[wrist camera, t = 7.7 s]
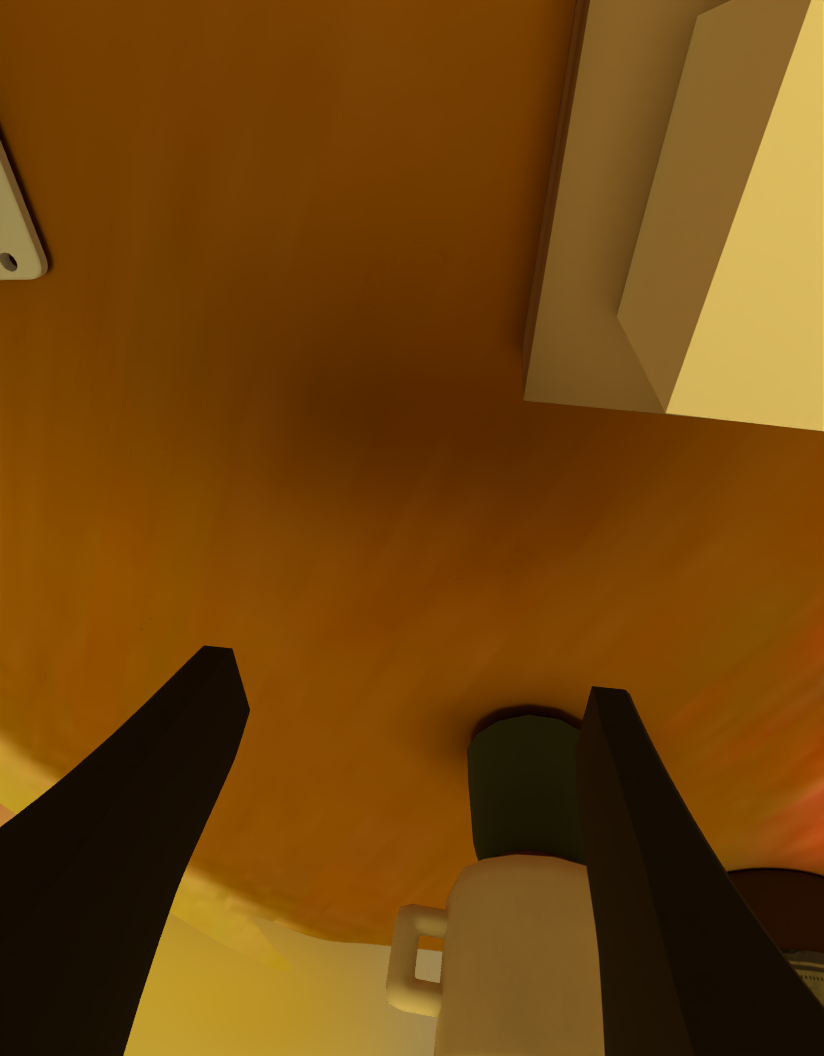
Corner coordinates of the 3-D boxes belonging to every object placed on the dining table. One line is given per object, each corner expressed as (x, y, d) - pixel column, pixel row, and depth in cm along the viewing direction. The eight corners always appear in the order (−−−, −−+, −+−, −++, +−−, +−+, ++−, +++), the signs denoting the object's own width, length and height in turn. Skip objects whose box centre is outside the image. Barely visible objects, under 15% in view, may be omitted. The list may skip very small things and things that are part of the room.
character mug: (419, 765, 31) (372, 1096, 21) (427, 681, 27) (373, 1047, 16) (624, 798, 30) (682, 1161, 20) (667, 716, 26) (770, 1126, 16)
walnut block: (521, 345, 17) (523, 400, 14) (587, -80, 12) (614, -145, 9) (834, 372, 17) (910, 437, 13) (1056, -70, 11) (1271, -138, 8)
